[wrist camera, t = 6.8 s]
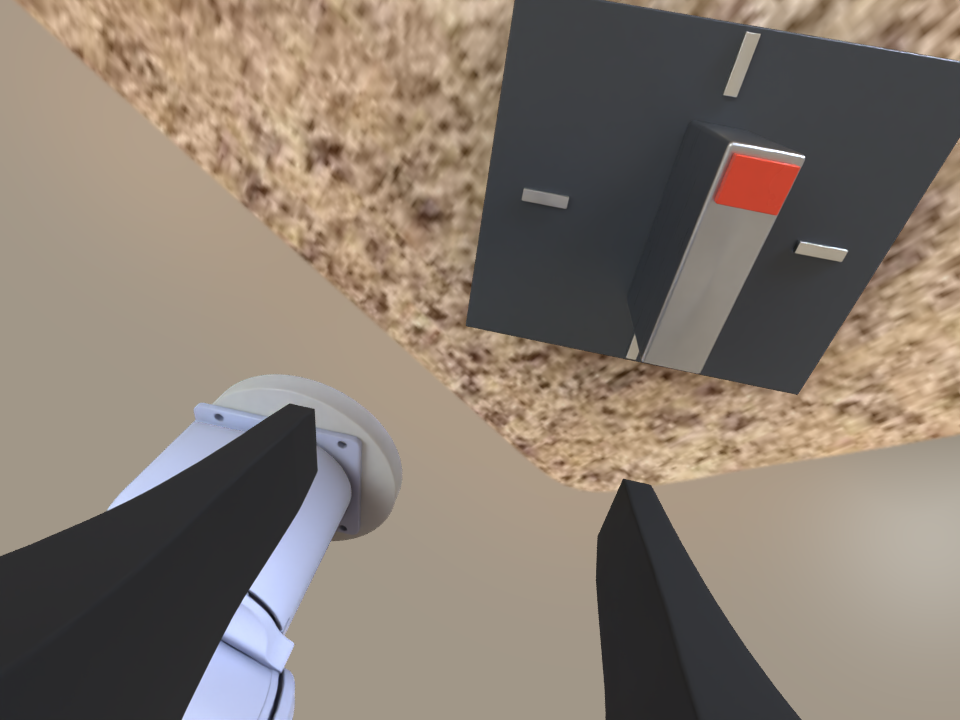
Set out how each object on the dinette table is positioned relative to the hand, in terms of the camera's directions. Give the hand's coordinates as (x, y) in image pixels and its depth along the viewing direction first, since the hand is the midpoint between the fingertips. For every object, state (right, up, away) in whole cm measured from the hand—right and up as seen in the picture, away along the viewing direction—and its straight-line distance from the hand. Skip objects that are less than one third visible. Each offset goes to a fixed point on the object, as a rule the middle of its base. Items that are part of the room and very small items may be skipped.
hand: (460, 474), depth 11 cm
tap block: (+7, +8, +6) cm, 12 cm away
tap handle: (+6, +7, +3) cm, 10 cm away
